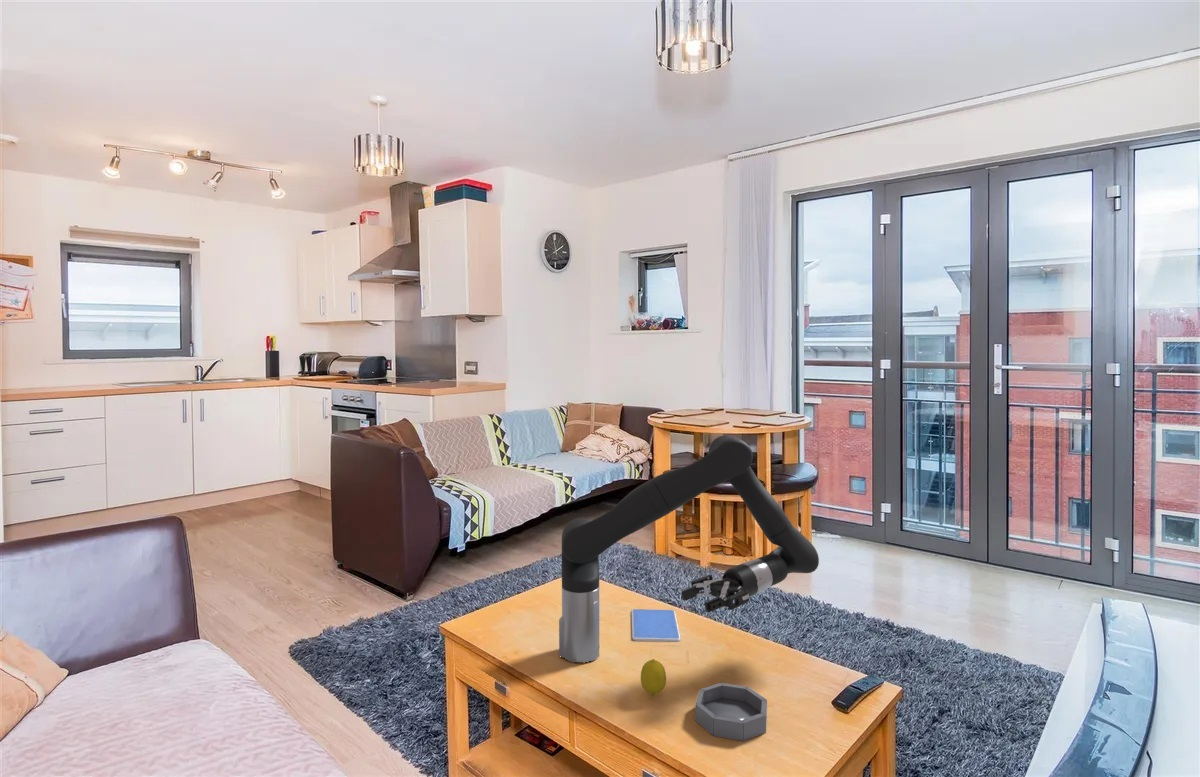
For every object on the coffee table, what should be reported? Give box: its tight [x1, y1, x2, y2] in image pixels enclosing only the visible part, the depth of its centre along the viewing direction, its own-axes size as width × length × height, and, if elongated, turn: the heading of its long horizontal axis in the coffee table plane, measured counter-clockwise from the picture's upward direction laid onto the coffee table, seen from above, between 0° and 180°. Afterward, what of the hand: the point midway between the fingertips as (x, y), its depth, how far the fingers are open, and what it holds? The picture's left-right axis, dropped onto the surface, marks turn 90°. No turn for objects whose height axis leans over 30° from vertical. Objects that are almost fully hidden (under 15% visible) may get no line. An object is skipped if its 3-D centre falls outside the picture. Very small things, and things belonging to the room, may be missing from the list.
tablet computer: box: [630, 608, 681, 643], centre depth 171 cm, size 19×13×1 cm, turn 178°
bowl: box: [694, 682, 768, 742], centre depth 127 cm, size 14×14×4 cm
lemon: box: [640, 658, 667, 697], centre depth 135 cm, size 6×6×8 cm
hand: (694, 601), depth 141 cm, fingers open, 8 cm apart
